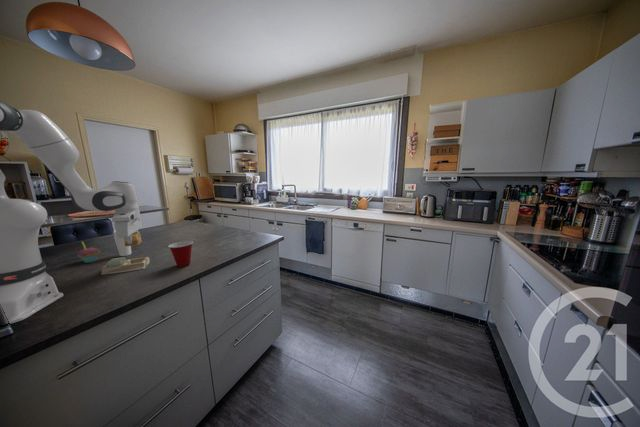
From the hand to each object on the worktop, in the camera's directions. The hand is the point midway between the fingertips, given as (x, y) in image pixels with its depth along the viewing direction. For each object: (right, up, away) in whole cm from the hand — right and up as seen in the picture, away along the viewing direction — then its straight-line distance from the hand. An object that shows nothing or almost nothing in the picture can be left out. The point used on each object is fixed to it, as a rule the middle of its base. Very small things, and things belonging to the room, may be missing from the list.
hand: (133, 241), depth 105 cm
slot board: (-4, -14, +1) cm, 14 cm away
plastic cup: (+22, -13, +5) cm, 26 cm away
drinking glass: (-20, -11, +17) cm, 28 cm away
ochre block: (0, -2, 0) cm, 2 cm away
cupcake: (-31, -12, +9) cm, 35 cm away
